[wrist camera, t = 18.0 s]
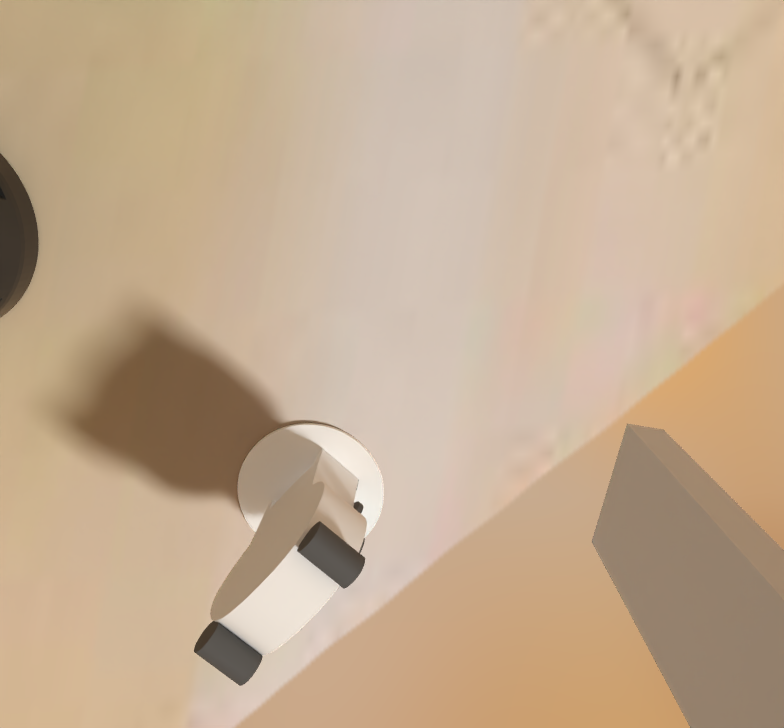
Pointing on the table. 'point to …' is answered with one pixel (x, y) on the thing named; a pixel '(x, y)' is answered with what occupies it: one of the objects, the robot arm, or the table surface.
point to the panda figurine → (292, 541)
